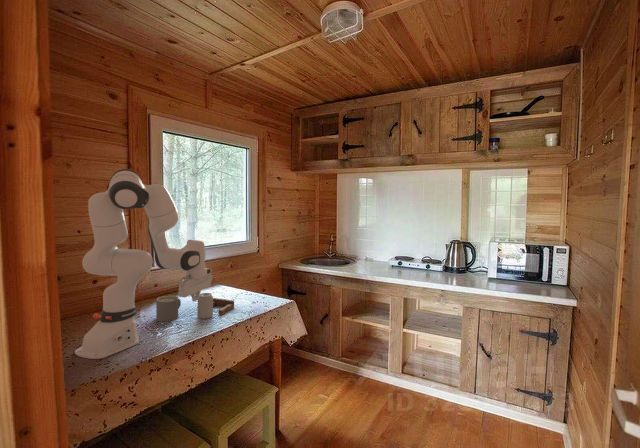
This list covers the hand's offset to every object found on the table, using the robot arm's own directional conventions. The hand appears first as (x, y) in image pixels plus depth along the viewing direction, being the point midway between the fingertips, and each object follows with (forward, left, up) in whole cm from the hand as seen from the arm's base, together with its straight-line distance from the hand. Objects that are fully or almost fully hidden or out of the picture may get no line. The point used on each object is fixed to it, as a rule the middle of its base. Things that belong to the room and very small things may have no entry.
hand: (195, 300), depth 153 cm
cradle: (+19, 0, -11) cm, 22 cm away
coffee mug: (+2, +16, -12) cm, 20 cm away
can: (+8, 0, -12) cm, 14 cm away
